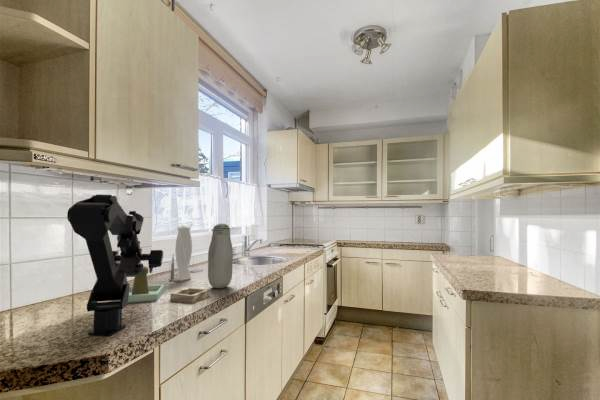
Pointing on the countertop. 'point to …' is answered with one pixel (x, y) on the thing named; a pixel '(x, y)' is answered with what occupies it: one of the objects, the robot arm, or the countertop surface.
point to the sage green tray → (153, 295)
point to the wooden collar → (189, 295)
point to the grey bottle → (220, 257)
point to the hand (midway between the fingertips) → (137, 272)
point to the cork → (141, 283)
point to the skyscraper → (182, 254)
